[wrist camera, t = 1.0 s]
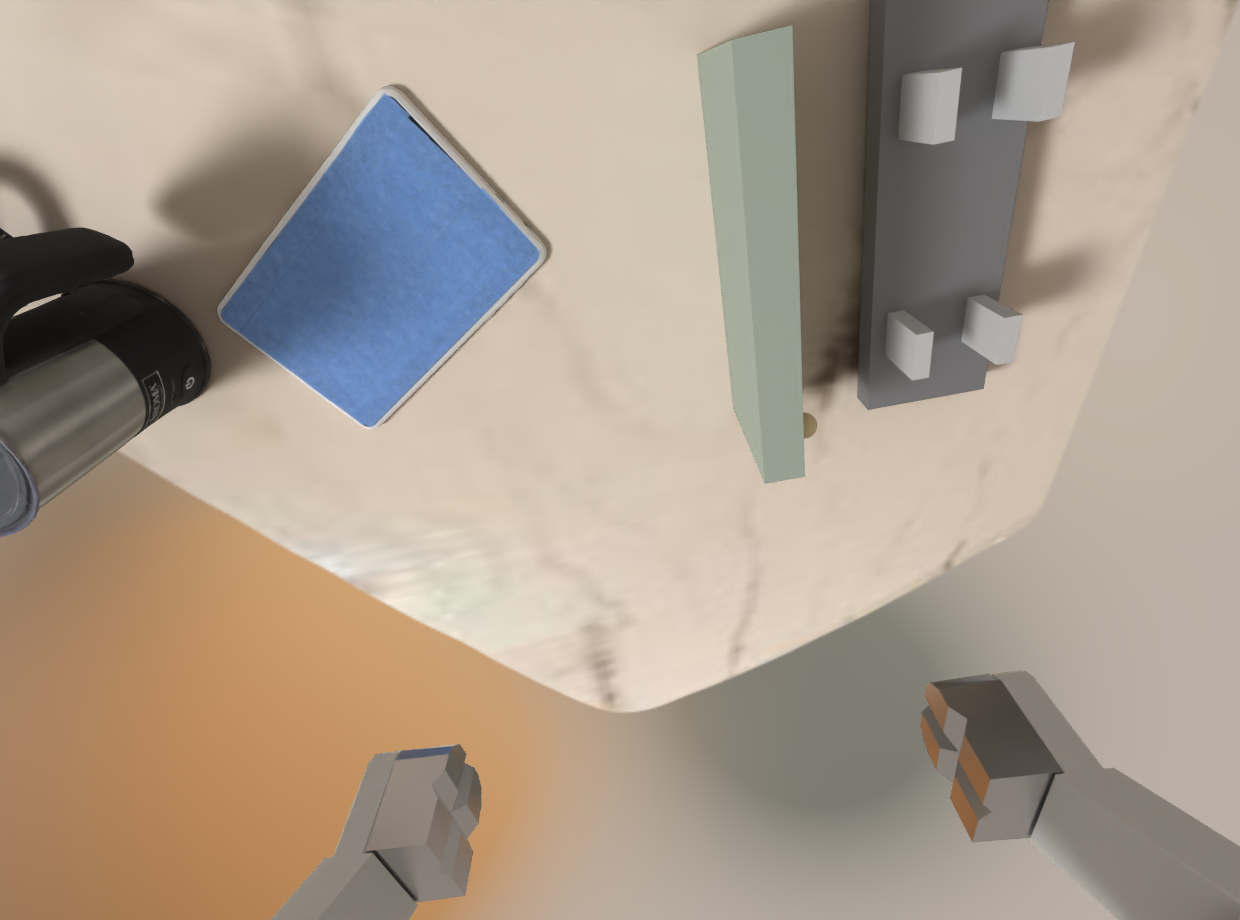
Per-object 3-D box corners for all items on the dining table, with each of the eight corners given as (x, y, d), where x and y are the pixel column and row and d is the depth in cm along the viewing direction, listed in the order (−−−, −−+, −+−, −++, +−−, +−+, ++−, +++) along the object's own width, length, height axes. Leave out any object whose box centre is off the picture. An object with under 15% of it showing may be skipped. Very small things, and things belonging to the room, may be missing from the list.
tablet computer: (391, 77, 31) (384, 76, 30) (554, 251, 37) (553, 256, 35) (219, 309, 38) (207, 315, 37) (377, 428, 43) (371, 437, 42)
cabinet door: (696, 55, 31) (731, 39, 22) (768, 37, 31) (831, 15, 22) (732, 407, 43) (764, 483, 34) (785, 397, 42) (830, 472, 34)
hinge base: (870, -11, 29) (926, -33, 24) (1031, -50, 29) (1122, -81, 24) (857, 397, 42) (891, 438, 37) (968, 376, 42) (1018, 415, 36)
